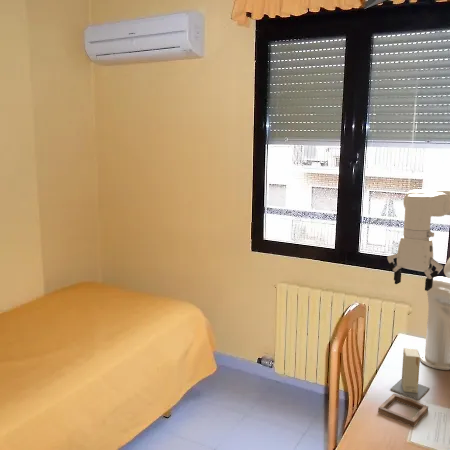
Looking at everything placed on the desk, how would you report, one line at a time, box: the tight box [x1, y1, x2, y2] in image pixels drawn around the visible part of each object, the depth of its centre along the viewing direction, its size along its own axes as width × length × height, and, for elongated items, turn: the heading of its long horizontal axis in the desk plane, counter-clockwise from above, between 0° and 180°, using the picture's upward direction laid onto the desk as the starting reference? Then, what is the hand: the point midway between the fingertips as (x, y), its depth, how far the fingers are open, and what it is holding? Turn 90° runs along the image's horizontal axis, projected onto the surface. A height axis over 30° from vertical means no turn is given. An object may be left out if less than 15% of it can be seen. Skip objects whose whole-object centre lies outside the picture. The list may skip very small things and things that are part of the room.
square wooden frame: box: [377, 393, 429, 428], centre depth 142 cm, size 11×11×2 cm
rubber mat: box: [389, 378, 430, 401], centre depth 154 cm, size 9×9×1 cm
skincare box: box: [401, 347, 421, 393], centre depth 153 cm, size 6×4×12 cm
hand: (412, 286), depth 152 cm, fingers open, 9 cm apart
